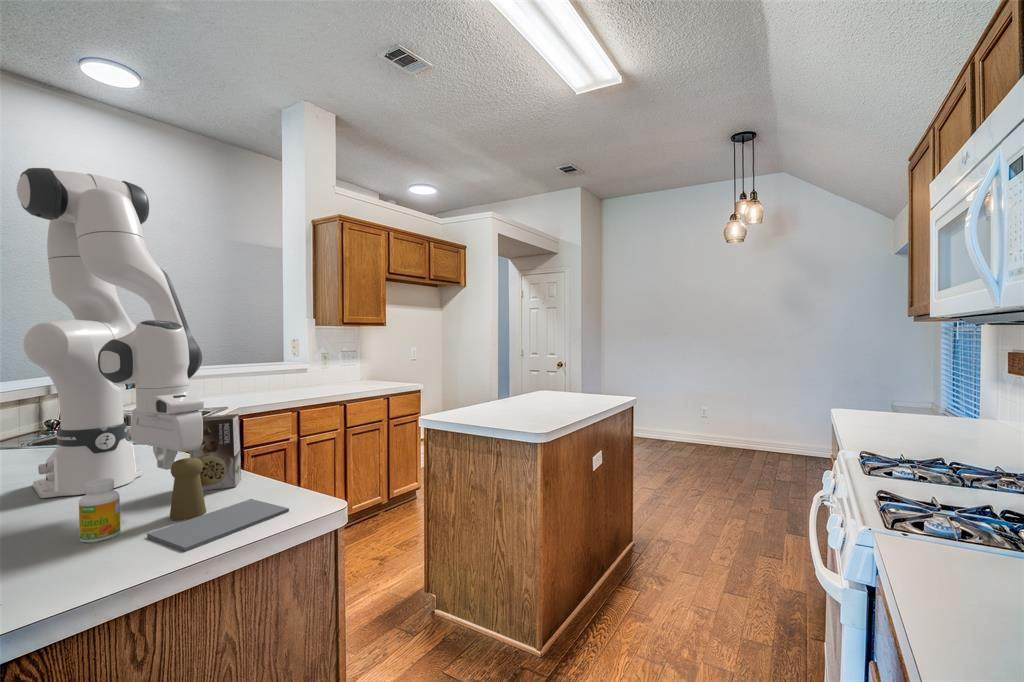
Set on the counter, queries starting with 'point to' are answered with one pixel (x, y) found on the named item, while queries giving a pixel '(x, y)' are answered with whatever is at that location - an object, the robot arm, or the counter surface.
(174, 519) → the cork
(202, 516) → the rubber mat
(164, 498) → the counter surface
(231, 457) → the coffee box
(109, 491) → the supplement bottle
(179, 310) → the robot arm
